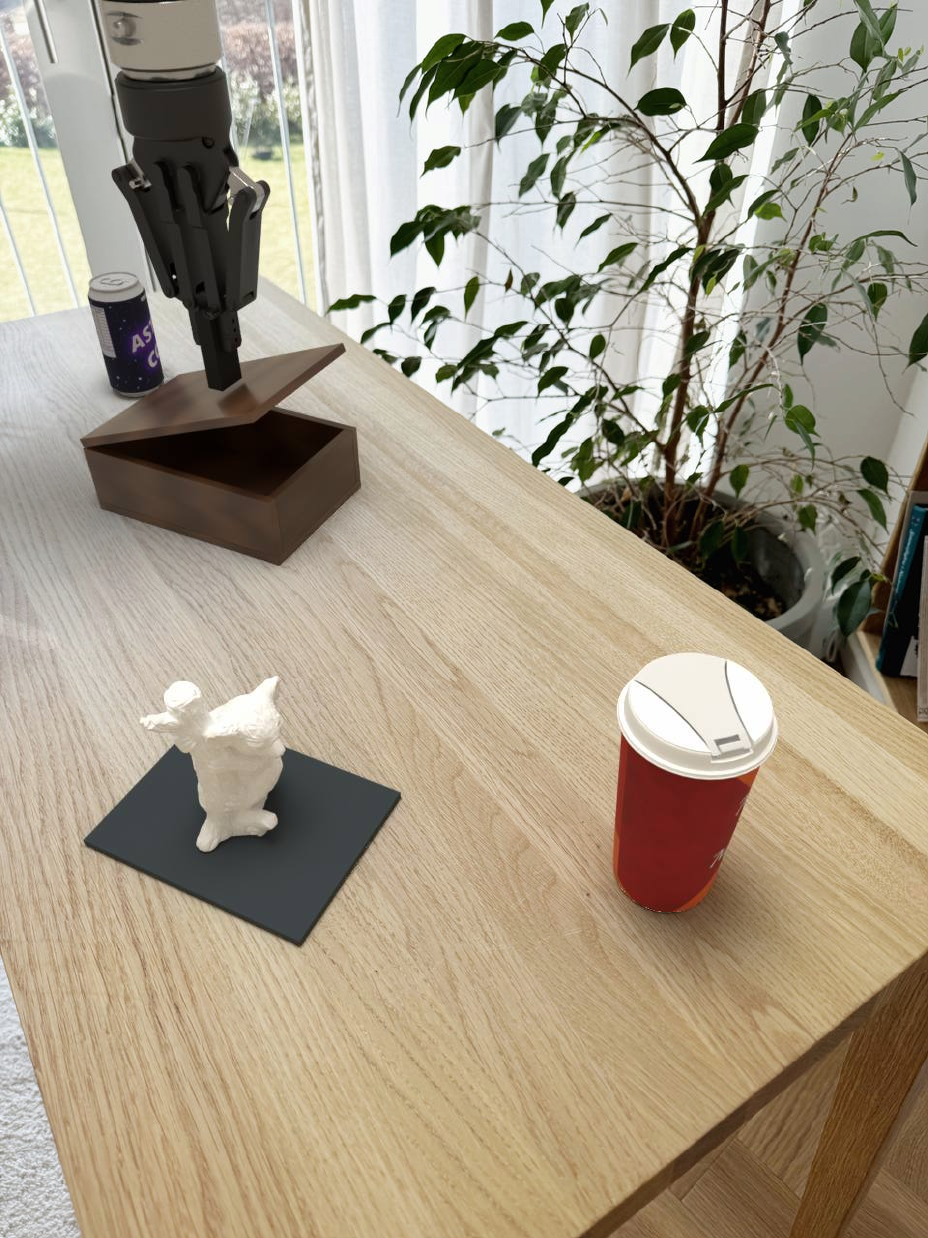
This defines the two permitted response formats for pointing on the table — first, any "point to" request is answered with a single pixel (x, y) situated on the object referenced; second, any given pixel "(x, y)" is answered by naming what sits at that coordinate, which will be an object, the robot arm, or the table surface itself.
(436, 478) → the table surface
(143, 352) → the beverage can
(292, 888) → the mat
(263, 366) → the chest lid
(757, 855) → the table surface
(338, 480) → the chest
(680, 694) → the coffee cup
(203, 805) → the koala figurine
